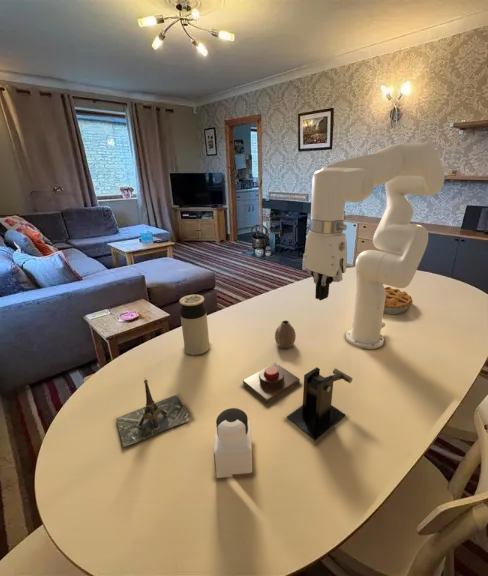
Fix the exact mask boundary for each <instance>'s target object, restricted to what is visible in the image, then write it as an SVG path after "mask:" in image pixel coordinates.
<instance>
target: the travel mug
mask: <svg viewBox="0 0 488 576" xmlns="http://www.w3.org/2000/svg"><path fill="white" fill-rule="evenodd" d="M178 301H179V304H180V306H181V307H179V314H180V322H181V331H182V338H183V346H184V351H185V353H186V354H189V355H192V356H194V355H195V356H198V355H202V354H205V353H206V352H207V351H209V349H210V336H209V335H210V334H209V325H208V316H207V315H208V314H207V306H206V305H205V304H204V302H205V297H204V296H203V295H201V294H189V295H184V296H183V297H181V298H179V300H178Z"/></svg>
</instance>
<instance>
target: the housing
mask: <svg viewBox="0 0 488 576" xmlns="http://www.w3.org/2000/svg"><path fill="white" fill-rule="evenodd" d="M269 366H274V367H276V368H277V369H278V377H277V378H276V379H267V378H266V377H265V368H267V367H269ZM300 381H301V380H300V378H299V377H298V376H296V375H295V374H293V373H292V372H290V371H289V370H287V369H286V368H284V367H283V366H281V365H280V364H278V363H277V362H273V363H272V364H270V365H268V366H266V367H264V368H262V369H261V370H259V371H257V372H256V373H254V374H252V375H250V376H248V377H246V378H244V379H243V380H242V386H243V387H246V388H247V389H248V390H249V391H251V392H252V393H253V394H255V395H256V396H257V397H258V398H259V399H260V400H262V401H263V402H264V403H266V404H269V403H271V402H272V401H273V400H275V399H276V398H278V397H279V396H281V395H283V394H284V393H285V392H287V391H289V390H290V389H292V388H293V387H295V386H297V385H298V384H299V383H300Z"/></svg>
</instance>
